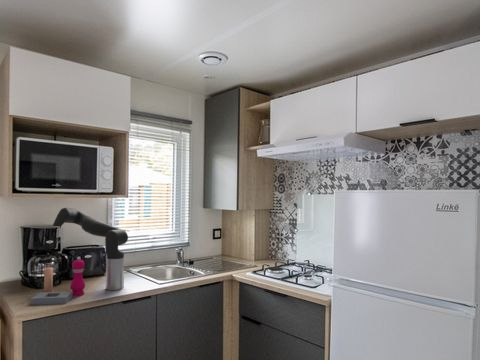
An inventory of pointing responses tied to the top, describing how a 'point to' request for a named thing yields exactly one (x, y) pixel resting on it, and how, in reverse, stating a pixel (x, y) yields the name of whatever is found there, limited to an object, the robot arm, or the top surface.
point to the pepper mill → (78, 278)
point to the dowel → (48, 279)
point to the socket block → (51, 298)
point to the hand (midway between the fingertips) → (46, 263)
